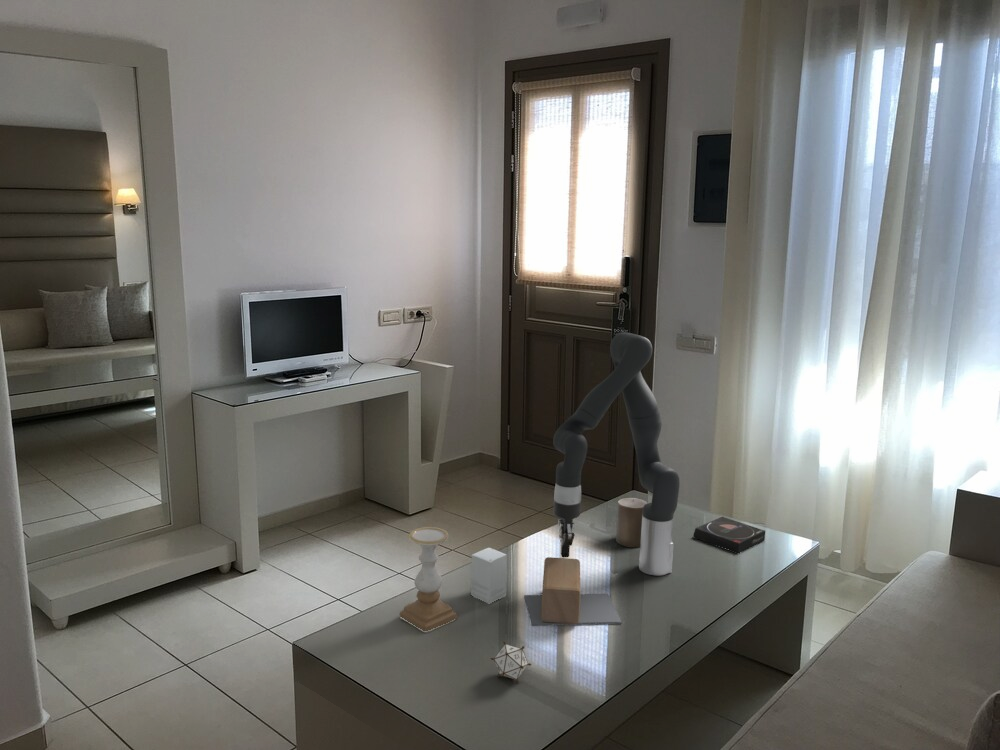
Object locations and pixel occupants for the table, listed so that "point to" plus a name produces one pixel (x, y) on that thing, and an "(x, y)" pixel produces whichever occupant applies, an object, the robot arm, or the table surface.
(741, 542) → the portable cd player
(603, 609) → the mat
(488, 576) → the supplement box
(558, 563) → the block
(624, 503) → the pillar candle
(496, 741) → the table surface
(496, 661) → the game die
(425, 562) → the candle holder
